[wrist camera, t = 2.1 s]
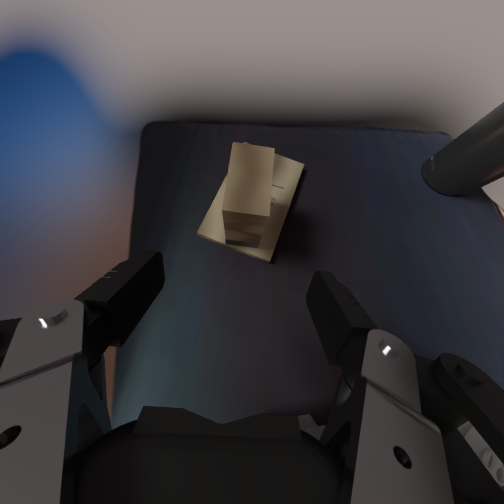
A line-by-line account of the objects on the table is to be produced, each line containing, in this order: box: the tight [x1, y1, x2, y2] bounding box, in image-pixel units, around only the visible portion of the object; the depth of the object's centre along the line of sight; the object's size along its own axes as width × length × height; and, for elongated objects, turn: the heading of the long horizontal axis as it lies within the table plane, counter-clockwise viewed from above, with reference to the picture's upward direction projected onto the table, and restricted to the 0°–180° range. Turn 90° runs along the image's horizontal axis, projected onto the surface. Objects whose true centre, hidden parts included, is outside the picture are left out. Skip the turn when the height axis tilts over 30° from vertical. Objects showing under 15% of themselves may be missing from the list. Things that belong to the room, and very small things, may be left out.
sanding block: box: [222, 142, 275, 248], centre depth 24 cm, size 5×9×10 cm, turn 174°
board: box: [197, 142, 304, 263], centre depth 31 cm, size 12×20×1 cm, turn 159°
